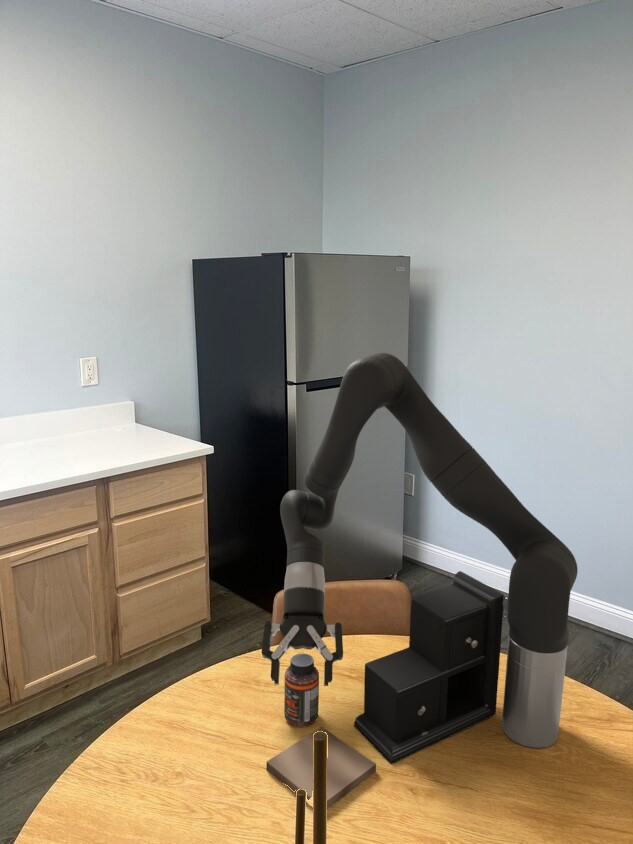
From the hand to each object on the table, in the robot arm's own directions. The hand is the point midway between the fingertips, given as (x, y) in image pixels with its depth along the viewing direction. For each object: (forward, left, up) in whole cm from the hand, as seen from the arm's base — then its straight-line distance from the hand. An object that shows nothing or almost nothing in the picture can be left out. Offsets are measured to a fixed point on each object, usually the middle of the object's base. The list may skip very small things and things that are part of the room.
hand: (301, 684), depth 114 cm
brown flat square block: (+6, +11, -7) cm, 15 cm away
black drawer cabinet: (-15, +15, -7) cm, 23 cm away
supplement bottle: (0, 0, -7) cm, 7 cm away
